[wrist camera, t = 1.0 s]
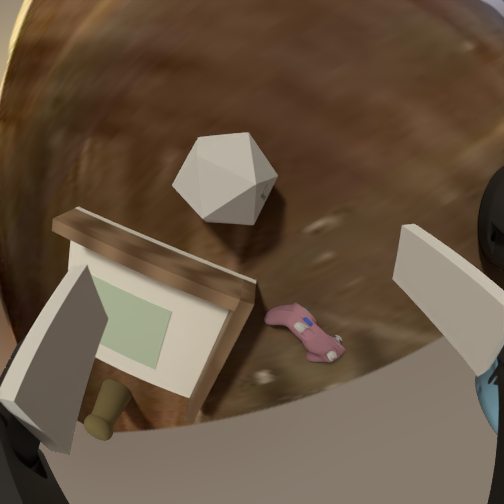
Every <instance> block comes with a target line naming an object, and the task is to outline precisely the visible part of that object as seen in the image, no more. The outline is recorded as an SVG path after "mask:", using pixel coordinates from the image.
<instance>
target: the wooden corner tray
mask: <svg viewBox="0 0 504 504" xmlns="http://www.w3.org/2000/svg"><path fill="white" fill-rule="evenodd" d="M52 231H54V232H56V233H57V234H59V235H61V236H63V237H65V238H67V239H69V240H71V243H70V254H69V267H68V272H69V270H70V269H71V267H72V266H79V265H86V264H87V265H88V268H89V270H90V273H91V276H92V279H93V282H94V284H95V287H96V289H97V292H98V295H99V297H100V300H101V302H102V305H103V307H104V310H105V312H106V314H107V317H108V322H107V325H106V327H105V330H104V333H103V336H102V338H101V341H100V344H99V347H98V350H97V353H96V356H95V357H96V358H98V359H100V360H102V361H104V362H106V363H108V364H110V365H112V366H114V367H116V368H118V369H120V370H122V371H124V372H127V373H129V374H131V375H133V376H135V377H138V378H140V379H142V380H144V381H147V382H149V383H152V384H154V385H156V386H159V387H161V388H164V389H166V390H169V391H171V392H174V393H177V394H179V395H182V396H185V397H188V398H189V401H188V405H187V408H186V412H185V415H184V420H187V421H190V422H193V421H194V419H195V418H196V416H197V414H198V412H199V410H200V408H201V406H202V405H203V403H204V401H205V399H206V397H207V395H208V393H209V392H210V390H211V388H212V386H213V384H214V382H215V380H216V378H217V376H218V375H219V373H220V371H221V369H222V367H223V365H224V363H225V361H226V359H227V357H228V355H229V354H230V352H231V350H232V348H233V346H234V344H235V342H236V340H237V338H238V336H239V334H240V332H241V330H242V328H243V326H244V324H245V322H246V320H247V318H248V316H249V314H250V312H251V310H252V308H253V306H254V301H255V290H256V280H254V279H251V278H249V277H246V276H244V275H241V274H239V273H236V272H233V271H231V270H228V269H226V268H223V267H221V266H218V265H216V264H213V263H211V262H208V261H206V260H203V259H201V258H198V257H196V256H194V255H191V254H189V253H186V252H184V251H181V250H179V249H176V248H174V247H172V246H169V245H167V244H164V243H162V242H159V241H157V240H155V239H152V238H150V237H148V236H145V235H143V234H140V233H138V232H136V231H133V230H131V229H129V228H126V227H124V226H122V225H119V224H117V223H115V222H112V221H110V220H108V219H105V218H103V217H101V216H98V215H96V214H94V213H92V212H89V211H87V210H85V209H83V208H80V207H77V208H75V209H72V210H70V211H68V212H66V213H64V214H62V215H60V216H58V217H55V218H53V224H52Z"/></svg>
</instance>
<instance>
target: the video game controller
mask: <svg viewBox="0 0 504 504" xmlns="http://www.w3.org/2000/svg"><path fill="white" fill-rule="evenodd" d="M264 321H265V323H266V324H268V325H284V326H287V327H288V328H289V329H290V330H291V331H292V332H293V333H294V334H295V335H296V336H297V337H298V338H299V339H300V340H301V341H302V343H303V345H304V346H305V348H306V349H307V350H308V351H307V353H306V358H307V359H308V360H309V361H312V362H329V363H330V362H332V361H334V360H336V359H337V358H339V357H340V356H341V355H342V354H343V353H344V351H345V348H344V347H343V346H342V345H341V344H340V341H342V339H341V337H340V336H338V335H334V336H335V337H336V338H335V337H331V336H329V335H328V334H326V333H325V332H324V331H323V330H322V329H321V328H320V327H318V326H317V325H316V324H317V320H316V319H315V318H314V317H313V316H312V315H311V314H310V312H308V311H307V310H306V309H305V308H303V307H302V306H300V305H299V304H297V303H294V304H290V305H281V306H277V307H275V308H273V309H271V310H269V311H268V312H267V313H266V315H265V318H264ZM339 340H340V341H339Z"/></svg>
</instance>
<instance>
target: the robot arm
mask: <svg viewBox="0 0 504 504" xmlns="http://www.w3.org/2000/svg"><path fill="white" fill-rule="evenodd" d="M478 234H479V241H480V246H481V249H482V251H483V254H484V255H485V257H486V258H487V259H488V260H489V261H490V262H491V263H493V264H494V265H495V266H497V267H498V268H500V269H502V270H504V166H503V167H502V168H500V169H499V170H498V171H497V172H496V173H495V174H494V176H493V177H492V178H491V180H490V182H489V184H488V186H487V188H486V190H485V193H484V196H483V199H482V202H481V207H480V212H479V221H478ZM393 280H394V281H395V282H396V283H397V284H398V285H399V286H400V287H401V288H402V289H403V291H404V292H405V293H406V294H407V295H408V296H409V297H410V298H411V299H412V300H413V301H414V302H415V303H416V304H417V306H418V307H419V308H420V309H421V310H422V311H423V312H424V313H425V314H426V315H427V317H428V318H429V319H430V320H431V321H432V322H433V323H434V324H435V326H436V327H437V328H438V329H439V330H440V331H441V333H442V334H443V335H444V336H445V337H446V338H447V340H448V341H449V342H450V343H451V344H452V345H453V347H454V348H455V349H456V350H457V351H458V353H459V354H460V355H461V356H462V357H463V359H464V360H465V361H466V363H467V364H468V365H469V366H470V368H471V369H472V370H473V372H474V373H475V374H476V378H475V385H476V392H477V396H478V400H479V403H480V405H481V408H482V410H483V412H484V414H485V417H486V419H487V420H488V422H489V424H490V426H491V427H492V429H493V430H494V432H495V433H496V434H497V435H498V437H497V450H496V459H495V466H494V473H493V479H492V485H491V490H490V495H489V500H488V504H504V290H502V289H501V288H500V287H499V286H498V285H497V284H495V283H494V282H493V281H492V280H491V279H489V278H488V277H487V276H486V275H484V274H483V273H482V272H481V271H479V270H478V269H477V268H476V267H474V266H473V265H472V264H470V263H469V262H468V261H466V260H465V259H464V258H463V257H461V256H460V255H458V254H457V253H456V252H454V251H453V250H452V249H450V248H449V247H447V246H446V245H445V244H443V243H442V242H440V241H439V240H438V239H436V238H435V237H433V236H432V235H430V234H429V233H427V232H426V231H424V230H423V229H421V228H420V227H418V226H417V225H415V224H410V225H402V228H401V235H400V241H399V247H398V253H397V258H396V264H395V269H394V274H393ZM107 322H108V317H107V314H106V312H105V310H104V307H103V305H102V302H101V300H100V297H99V295H98V292H97V289H96V287H95V284H94V282H93V279H92V276H91V273H90V270H89V268H88V265H87V264H86V265H79V266H72V267H71V269H70V270H69V272H68V273H67V274H66V276H65V277H64V278H63V280H62V281H61V283H60V284H59V286H58V287H57V289H56V290H55V291H54V293H53V294H52V296H51V297H50V299H49V300H48V302H47V304H46V305H45V307H44V308H43V310H42V311H41V313H40V315H39V316H38V318H37V319H36V321H35V323H34V324H33V326H32V328H31V329H30V331H29V333H28V335H27V336H26V337H25V338H24V339H23V340H22V341H21V342H20V343H19V344H18V345H17V346H16V348H15V350H14V352H13V353H12V355H11V359H10V360H9V361H8V363H7V365H6V368H5V369H4V371H3V373H2V375H1V377H0V504H69V503H68V501H67V499H66V497H65V496H64V494H63V492H62V490H61V488H60V487H59V485H58V483H57V481H56V479H55V477H54V475H53V473H52V471H51V469H50V467H49V465H48V462H47V460H46V458H45V456H44V454H43V453H42V451H41V450H40V449H39V444H40V442H42V443H43V444H44V445H45V446H46V447H47V448H48V449H50V450H51V451H55V452H60V453H64V454H70V450H71V444H72V440H73V435H74V431H75V426H76V422H77V418H78V414H79V410H80V406H81V403H82V399H83V395H84V392H85V388H86V385H87V381H88V378H89V375H90V372H91V368H92V365H93V362H94V359H95V356H96V353H97V350H98V347H99V344H100V341H101V338H102V336H103V333H104V330H105V327H106V325H107Z"/></svg>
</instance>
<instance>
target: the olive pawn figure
mask: <svg viewBox="0 0 504 504" xmlns="http://www.w3.org/2000/svg"><path fill="white" fill-rule="evenodd" d="M131 398H132V394H131V392H130V391H129V390H128V388H127V387H125V386H124V385H123V384H121V383H119V382H117V381H115V380H111V379H107V380H105V381H104V382H103V384H102V387H101V390H100V392H99V395H98V398H97V401H96V404H95V406H94V409H93V412H92V414H91V415H88V416H87V417H86V419H85V421H84V427H85V429H86V431H87V432H88V433H89V434H91V435H92V436H93V437H95V438H97V439H99V440H104V441H106V440H109V439H110V438H111V437H112V435H113V431H114V430H113V425H114V424H115V422H116V421H117V419H118V418H119V416H120V415H121V413H122V412H123V410H124V409H125V407H126V406H127V404H128V403H129V401H130V400H131Z"/></svg>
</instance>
